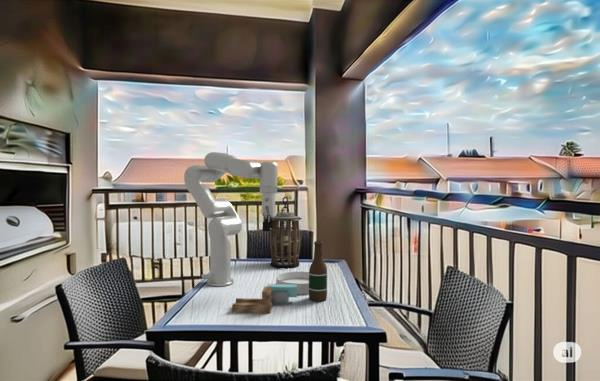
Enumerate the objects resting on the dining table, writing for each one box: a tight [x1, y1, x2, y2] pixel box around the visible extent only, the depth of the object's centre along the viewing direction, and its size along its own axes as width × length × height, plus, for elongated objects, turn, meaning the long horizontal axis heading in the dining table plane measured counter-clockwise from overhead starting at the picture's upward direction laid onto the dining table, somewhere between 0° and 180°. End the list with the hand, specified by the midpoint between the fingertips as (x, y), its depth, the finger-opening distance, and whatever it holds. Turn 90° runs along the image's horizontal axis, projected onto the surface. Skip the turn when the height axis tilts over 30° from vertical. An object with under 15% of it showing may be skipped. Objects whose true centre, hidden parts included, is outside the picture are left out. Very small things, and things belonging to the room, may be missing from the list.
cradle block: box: [272, 291, 290, 306], centre depth 152 cm, size 8×8×5 cm
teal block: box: [266, 283, 298, 298], centre depth 152 cm, size 12×4×4 cm, turn 89°
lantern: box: [269, 196, 302, 270], centre depth 218 cm, size 19×19×40 cm
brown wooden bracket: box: [231, 285, 273, 314], centre depth 142 cm, size 14×8×8 cm, turn 88°
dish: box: [275, 271, 309, 296], centre depth 173 cm, size 22×22×5 cm
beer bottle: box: [308, 240, 328, 303], centre depth 156 cm, size 8×8×24 cm
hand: (267, 229), depth 164 cm, fingers open, 9 cm apart
